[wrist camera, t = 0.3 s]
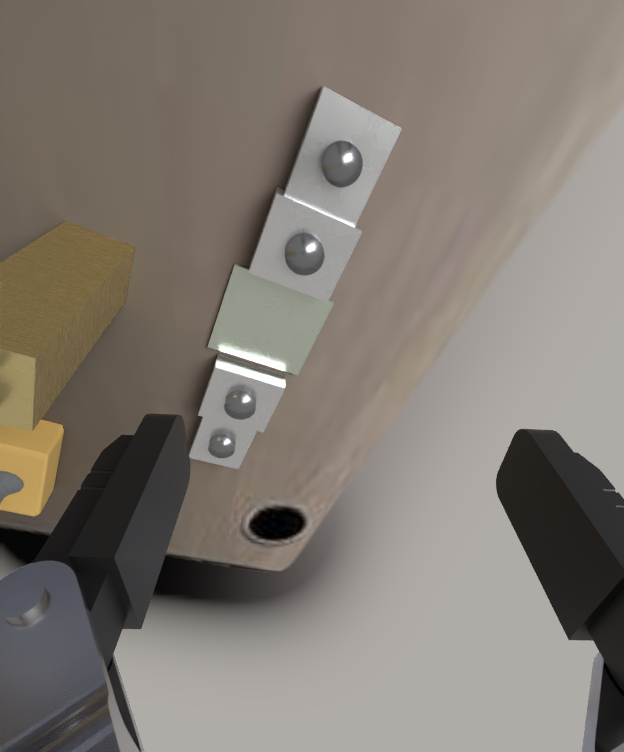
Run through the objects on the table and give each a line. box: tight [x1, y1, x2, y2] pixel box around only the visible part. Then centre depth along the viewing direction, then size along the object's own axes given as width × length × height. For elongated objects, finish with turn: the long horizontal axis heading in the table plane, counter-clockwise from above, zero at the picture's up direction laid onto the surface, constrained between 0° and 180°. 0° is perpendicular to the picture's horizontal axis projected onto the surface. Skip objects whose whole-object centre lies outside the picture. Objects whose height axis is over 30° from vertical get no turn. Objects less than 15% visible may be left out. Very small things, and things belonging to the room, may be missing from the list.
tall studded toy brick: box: [0, 221, 135, 431], centre depth 22 cm, size 4×4×15 cm
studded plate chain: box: [189, 86, 401, 469], centre depth 31 cm, size 32×8×3 cm, turn 156°
